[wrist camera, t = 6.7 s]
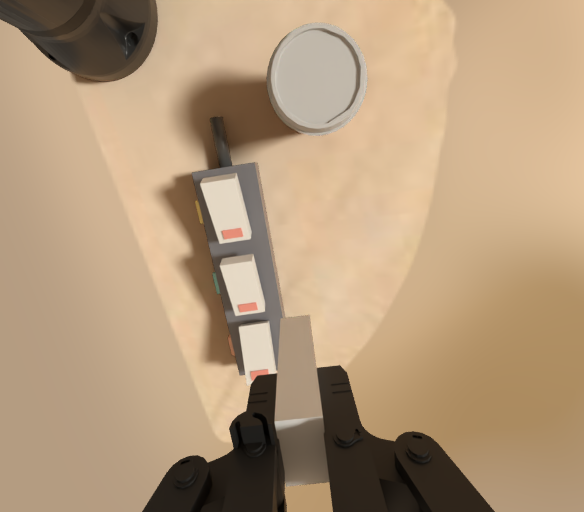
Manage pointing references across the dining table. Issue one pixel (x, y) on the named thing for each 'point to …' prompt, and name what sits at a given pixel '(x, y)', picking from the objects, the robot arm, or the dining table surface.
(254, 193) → the power strip
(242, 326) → the cream rocker switch
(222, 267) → the cream switch plate
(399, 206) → the dining table surface
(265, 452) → the robot arm
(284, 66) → the disposable coffee cup
